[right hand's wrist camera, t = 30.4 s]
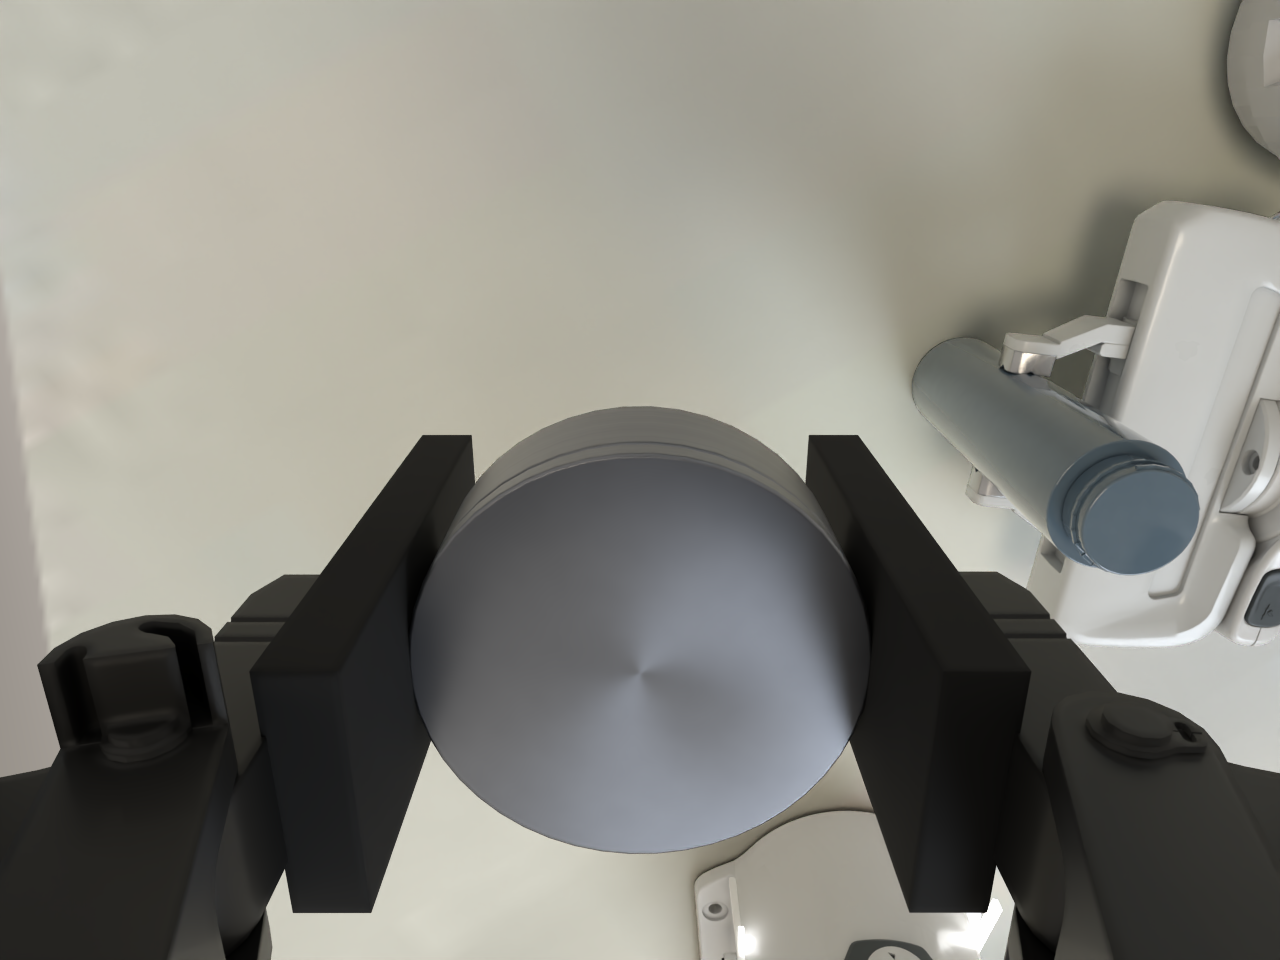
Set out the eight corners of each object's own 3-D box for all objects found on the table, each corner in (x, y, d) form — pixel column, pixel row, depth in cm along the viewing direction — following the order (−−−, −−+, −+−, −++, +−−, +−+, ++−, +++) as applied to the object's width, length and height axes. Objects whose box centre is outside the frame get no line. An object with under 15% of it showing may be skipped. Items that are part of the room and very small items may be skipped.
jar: (1002, 423, 47) (1204, 584, 30) (910, 431, 47) (1060, 594, 30) (1008, 333, 45) (1226, 449, 29) (912, 341, 46) (1073, 461, 29)
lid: (922, 543, 11) (971, 613, 10) (693, 816, 13) (700, 917, 11) (574, 322, 10) (561, 356, 9) (371, 647, 12) (327, 730, 10)
